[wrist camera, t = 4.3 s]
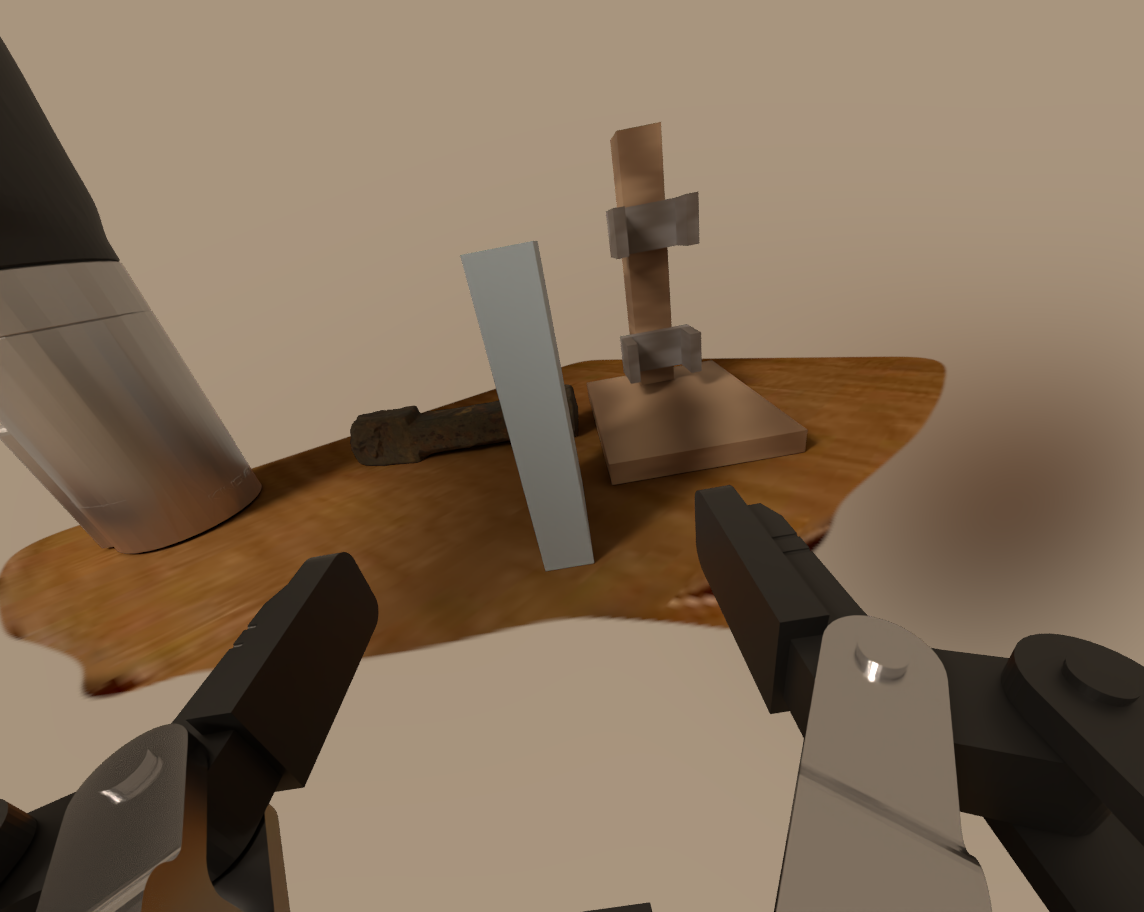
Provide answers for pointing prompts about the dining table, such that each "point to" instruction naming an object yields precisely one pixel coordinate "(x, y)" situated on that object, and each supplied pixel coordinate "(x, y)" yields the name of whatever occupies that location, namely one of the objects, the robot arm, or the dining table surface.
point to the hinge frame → (670, 345)
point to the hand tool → (432, 431)
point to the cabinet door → (532, 396)
